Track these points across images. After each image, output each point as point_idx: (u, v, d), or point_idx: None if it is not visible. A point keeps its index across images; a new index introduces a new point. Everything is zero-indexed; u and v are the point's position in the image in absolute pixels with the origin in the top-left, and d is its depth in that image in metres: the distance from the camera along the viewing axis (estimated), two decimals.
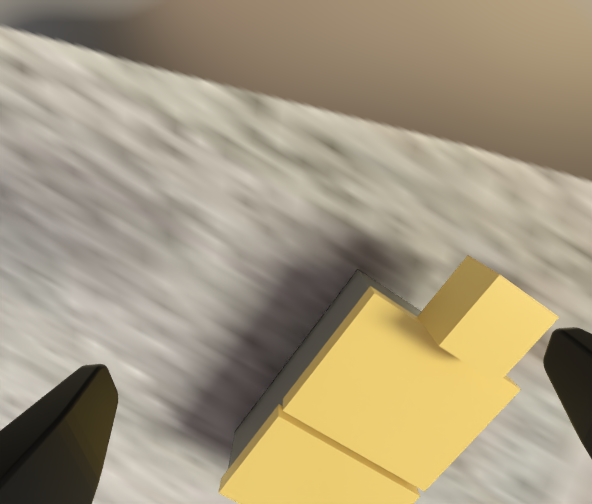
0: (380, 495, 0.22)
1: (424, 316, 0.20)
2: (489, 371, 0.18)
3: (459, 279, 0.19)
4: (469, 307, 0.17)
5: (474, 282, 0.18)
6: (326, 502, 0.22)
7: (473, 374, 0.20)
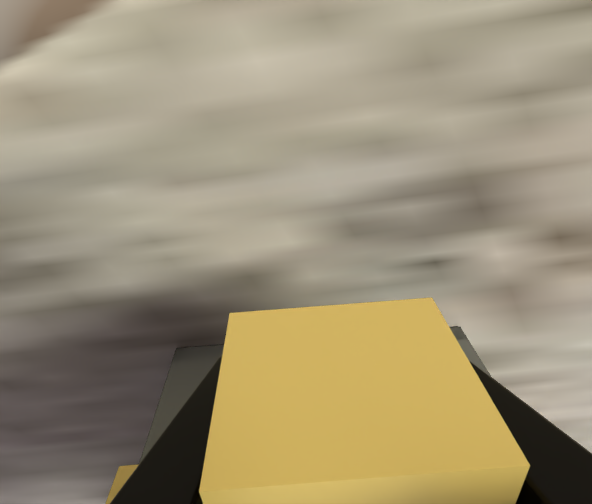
0: None
1: None
2: None
3: None
4: None
5: None
6: None
7: None
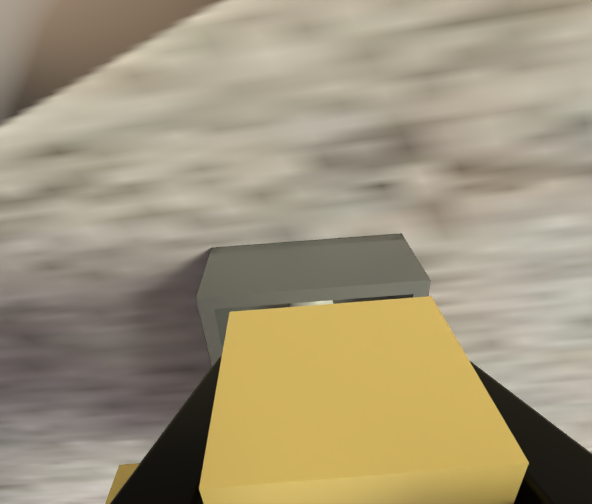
0: None
1: None
2: None
3: None
4: None
5: None
6: None
7: None
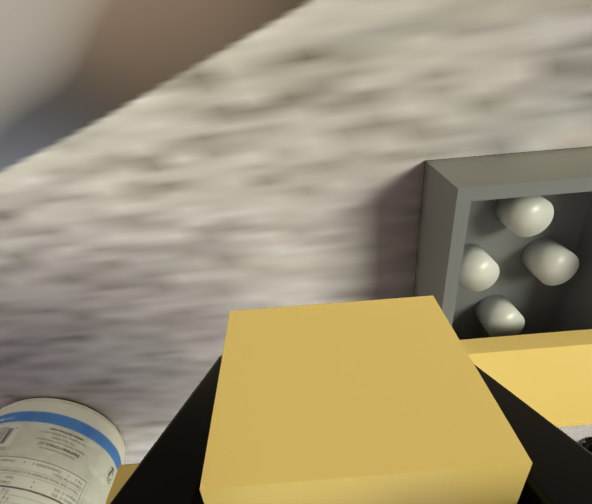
0: None
1: None
2: None
3: None
4: None
5: None
6: (537, 395, 0.20)
7: None
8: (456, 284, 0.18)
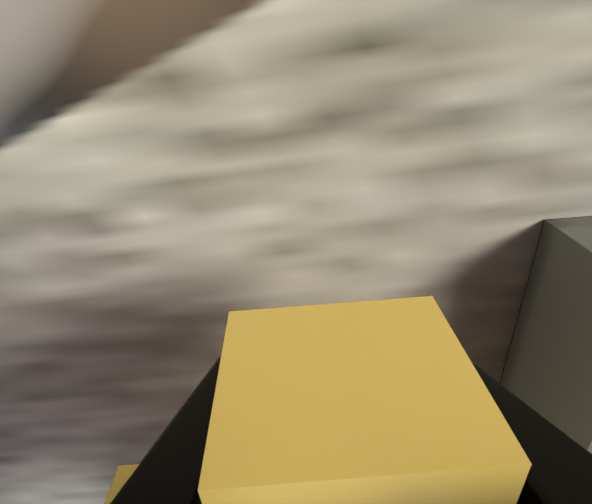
0: None
1: None
2: None
3: None
4: None
5: None
6: None
7: None
8: None
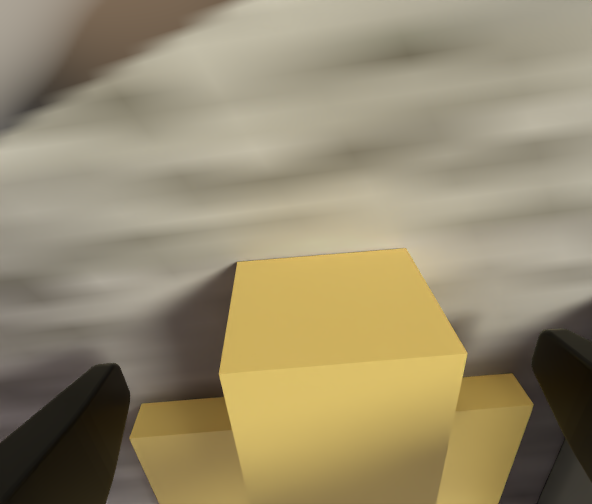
0: None
1: None
2: (398, 500, 0.07)
3: None
4: (238, 446, 0.07)
5: None
6: None
7: None
8: None
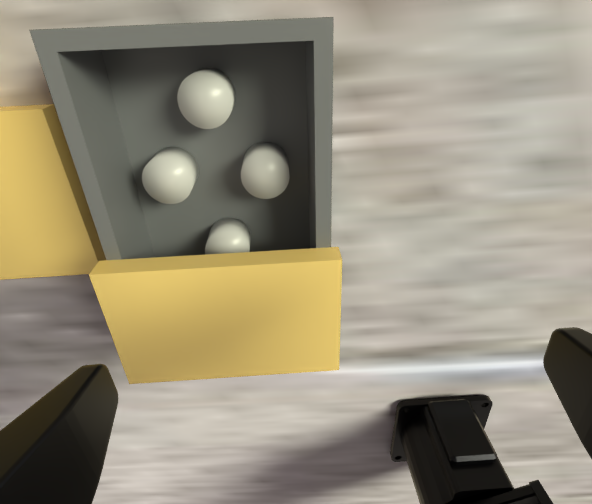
0: (293, 288, 0.15)
1: None
2: None
3: None
4: None
5: None
6: (242, 330, 0.16)
7: None
8: (94, 179, 0.14)
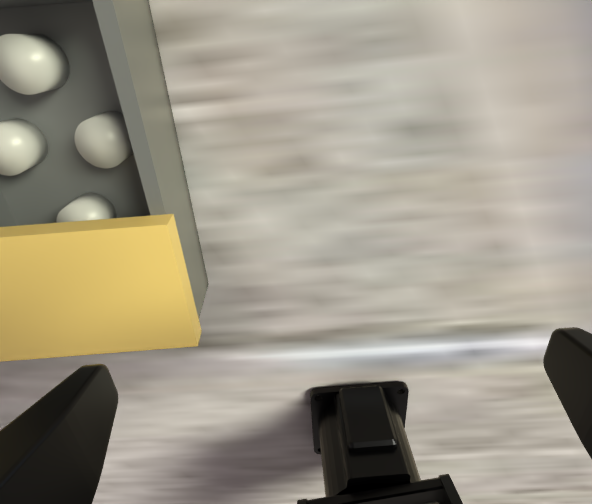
0: (124, 256, 0.15)
1: None
2: None
3: None
4: None
5: None
6: (83, 303, 0.16)
7: None
8: None
